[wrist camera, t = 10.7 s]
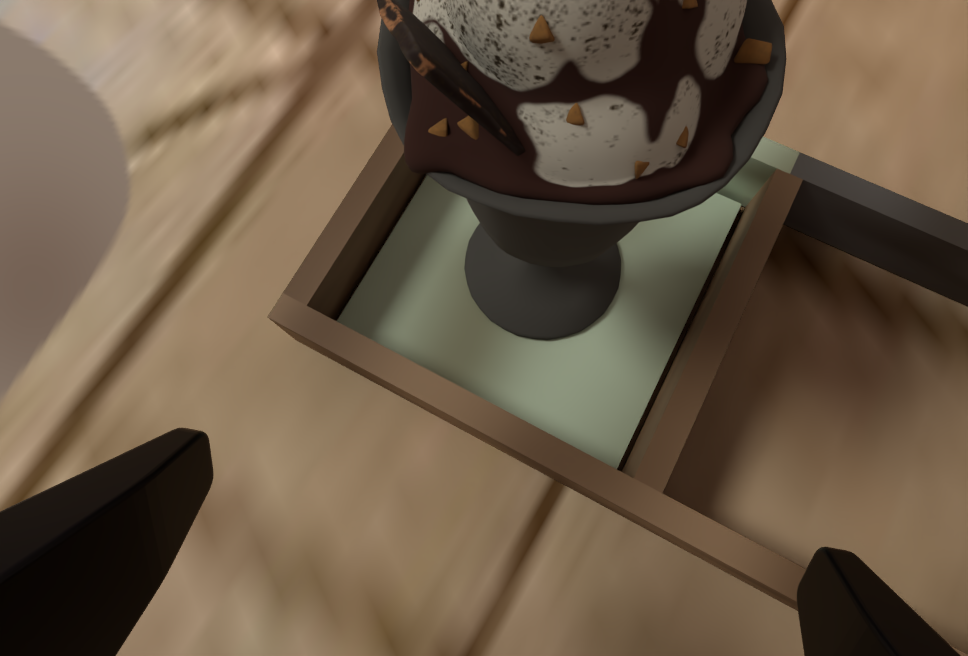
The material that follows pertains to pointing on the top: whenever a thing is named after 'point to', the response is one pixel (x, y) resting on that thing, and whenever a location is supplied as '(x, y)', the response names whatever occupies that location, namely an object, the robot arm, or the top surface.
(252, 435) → the top surface
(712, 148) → the sundae
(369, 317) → the tray
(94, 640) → the robot arm
